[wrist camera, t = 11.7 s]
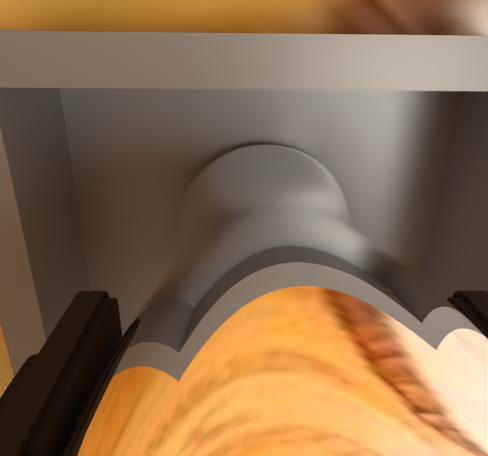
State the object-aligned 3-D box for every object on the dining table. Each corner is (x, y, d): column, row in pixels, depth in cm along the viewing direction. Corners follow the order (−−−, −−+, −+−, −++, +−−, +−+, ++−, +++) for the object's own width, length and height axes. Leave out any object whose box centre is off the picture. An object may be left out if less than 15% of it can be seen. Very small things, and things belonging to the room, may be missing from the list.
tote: (392, 489, 23) (431, 600, 19) (106, 493, 23) (74, 607, 18) (490, 39, 14) (612, 37, 10) (26, 34, 14) (-76, 29, 9)
